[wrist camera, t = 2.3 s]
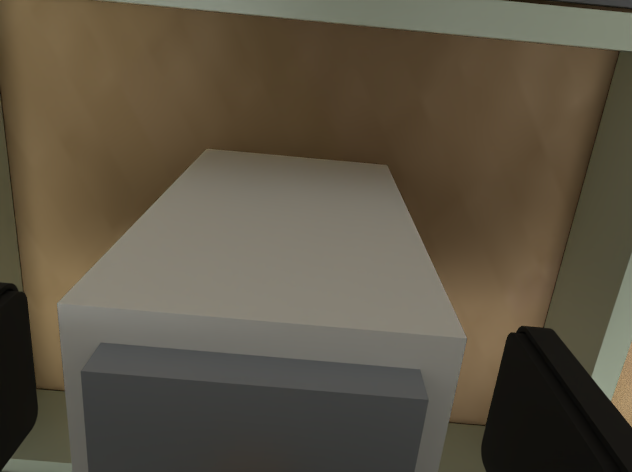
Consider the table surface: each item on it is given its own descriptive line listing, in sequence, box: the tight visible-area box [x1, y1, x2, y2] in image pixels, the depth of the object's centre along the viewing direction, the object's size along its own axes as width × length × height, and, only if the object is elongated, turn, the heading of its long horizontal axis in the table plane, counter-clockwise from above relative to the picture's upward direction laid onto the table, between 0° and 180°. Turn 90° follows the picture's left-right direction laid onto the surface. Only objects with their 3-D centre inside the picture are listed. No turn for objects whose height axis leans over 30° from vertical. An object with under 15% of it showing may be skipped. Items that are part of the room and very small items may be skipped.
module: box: [57, 149, 467, 472], centre depth 11 cm, size 5×5×10 cm
